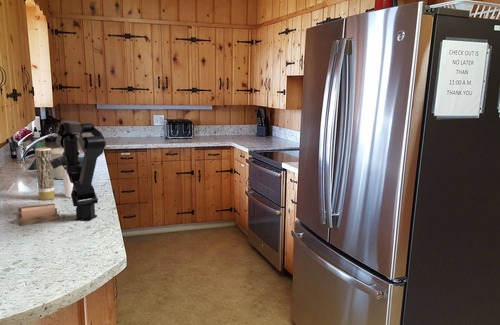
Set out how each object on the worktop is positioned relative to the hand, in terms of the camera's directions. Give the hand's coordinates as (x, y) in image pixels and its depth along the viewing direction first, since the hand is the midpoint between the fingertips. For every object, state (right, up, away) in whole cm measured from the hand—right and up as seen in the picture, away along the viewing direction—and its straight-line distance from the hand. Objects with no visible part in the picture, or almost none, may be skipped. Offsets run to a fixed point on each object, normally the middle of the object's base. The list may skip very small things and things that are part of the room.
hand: (73, 184), depth 169 cm
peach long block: (-10, -13, -10) cm, 19 cm away
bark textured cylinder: (-23, -8, +21) cm, 32 cm away
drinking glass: (-13, -8, +26) cm, 30 cm away
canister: (-35, 0, +67) cm, 75 cm away
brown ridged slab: (-12, -13, -6) cm, 19 cm away
